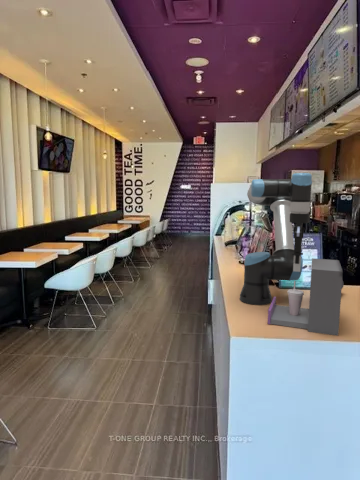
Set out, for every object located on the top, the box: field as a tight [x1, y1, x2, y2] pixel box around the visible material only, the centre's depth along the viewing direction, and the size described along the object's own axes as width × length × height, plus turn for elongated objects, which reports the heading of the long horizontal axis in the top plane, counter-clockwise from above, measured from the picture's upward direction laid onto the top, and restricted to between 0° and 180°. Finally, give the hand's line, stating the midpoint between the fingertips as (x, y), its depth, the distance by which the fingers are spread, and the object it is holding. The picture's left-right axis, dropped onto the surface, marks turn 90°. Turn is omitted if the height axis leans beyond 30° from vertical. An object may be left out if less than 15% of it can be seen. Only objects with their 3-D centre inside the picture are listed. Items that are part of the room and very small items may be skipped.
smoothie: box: [286, 280, 305, 316], centre depth 143 cm, size 6×6×14 cm
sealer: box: [307, 258, 344, 336], centre depth 138 cm, size 10×23×24 cm, turn 159°
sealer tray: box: [267, 296, 309, 330], centre depth 144 cm, size 16×20×6 cm
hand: (296, 270), depth 141 cm, fingers closed
